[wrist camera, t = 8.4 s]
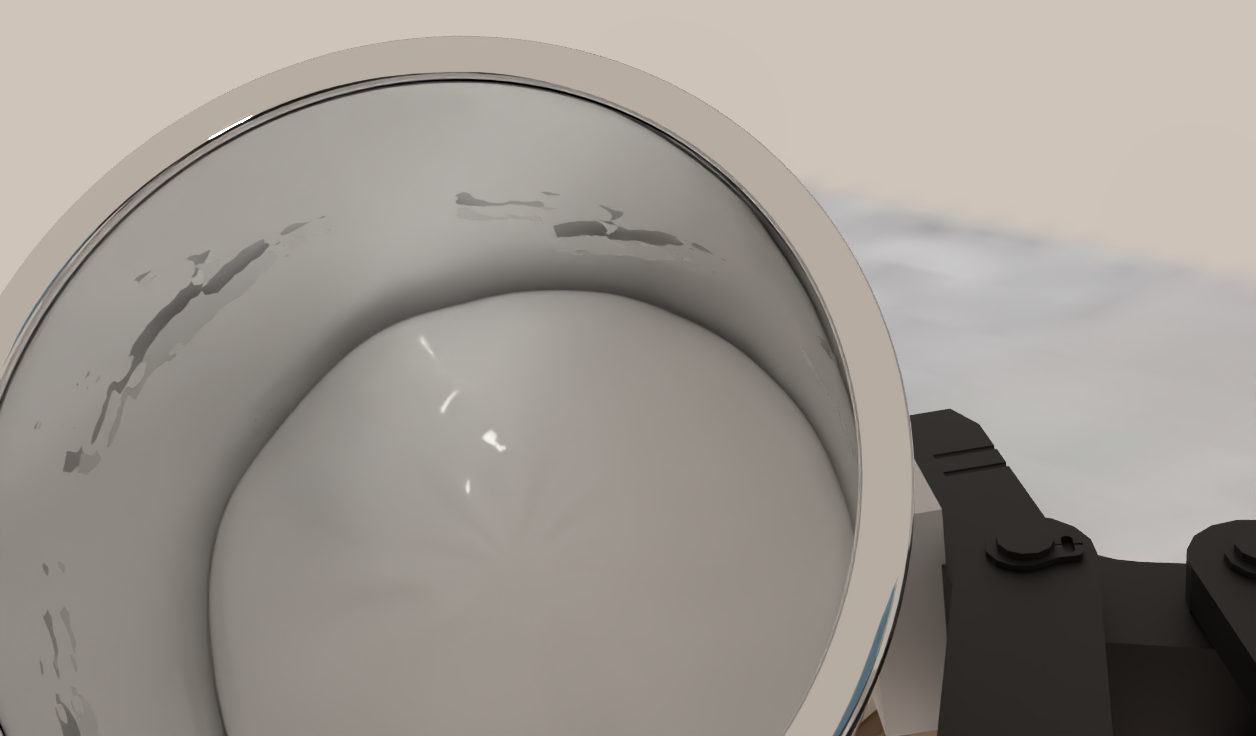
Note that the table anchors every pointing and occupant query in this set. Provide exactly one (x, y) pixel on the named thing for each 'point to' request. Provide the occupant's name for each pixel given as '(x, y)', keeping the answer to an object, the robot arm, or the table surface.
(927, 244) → the table surface
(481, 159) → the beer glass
